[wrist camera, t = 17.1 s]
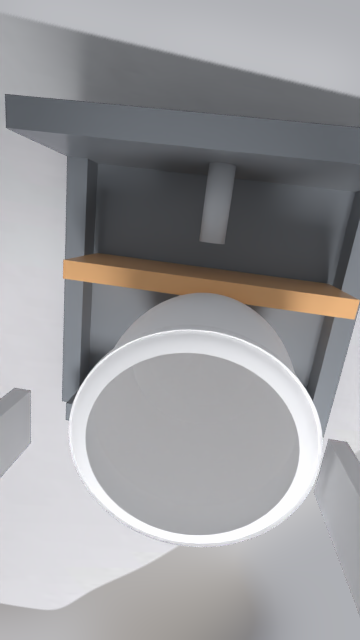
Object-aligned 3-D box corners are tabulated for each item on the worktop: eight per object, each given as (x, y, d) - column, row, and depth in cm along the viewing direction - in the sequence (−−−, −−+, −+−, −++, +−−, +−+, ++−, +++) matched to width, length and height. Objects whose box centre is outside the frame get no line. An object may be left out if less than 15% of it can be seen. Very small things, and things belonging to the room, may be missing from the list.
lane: (311, 425, 30) (353, 517, 20) (76, 385, 32) (13, 453, 22) (377, 173, 24) (478, 138, 15) (84, 143, 26) (5, 94, 17)
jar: (241, 252, 26) (264, 283, 11) (289, 367, 28) (361, 516, 13) (122, 306, 28) (19, 388, 14) (175, 408, 30) (132, 573, 16)
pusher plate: (325, 299, 26) (354, 319, 20) (96, 267, 27) (63, 278, 22) (328, 283, 25) (359, 300, 20) (97, 252, 27) (63, 259, 21)
